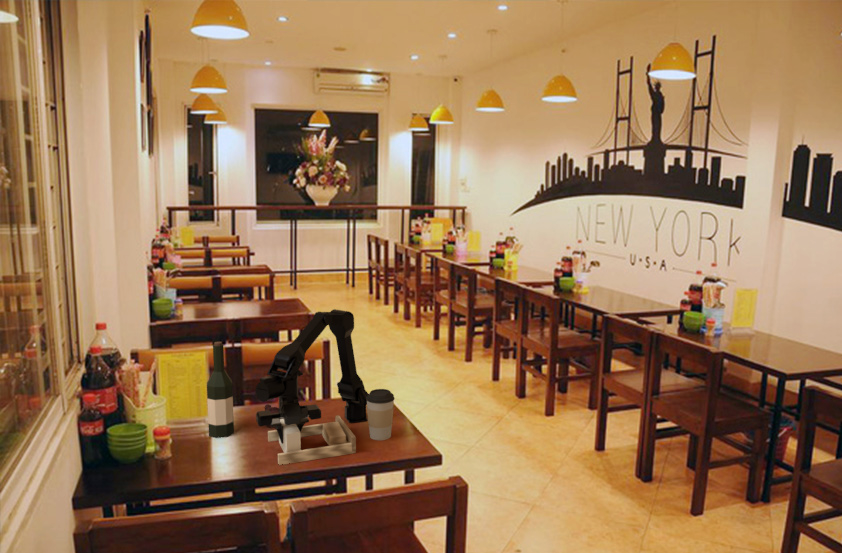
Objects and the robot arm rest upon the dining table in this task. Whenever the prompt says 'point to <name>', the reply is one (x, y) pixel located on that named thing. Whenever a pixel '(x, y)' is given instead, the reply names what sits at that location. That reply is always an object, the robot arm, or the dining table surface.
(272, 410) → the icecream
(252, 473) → the dining table surface
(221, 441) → the dining table surface
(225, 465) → the dining table surface
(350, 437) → the frame
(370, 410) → the coffee cup
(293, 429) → the white rectangular block
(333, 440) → the offcut upper
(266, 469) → the dining table surface
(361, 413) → the robot arm
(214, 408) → the wine bottle
